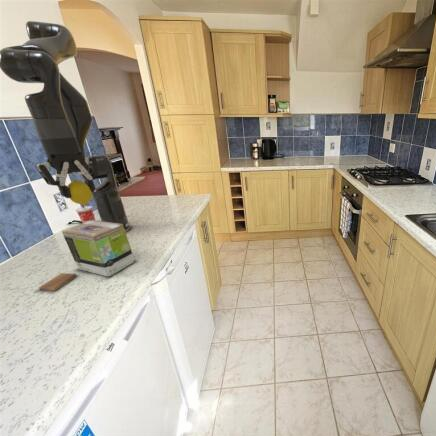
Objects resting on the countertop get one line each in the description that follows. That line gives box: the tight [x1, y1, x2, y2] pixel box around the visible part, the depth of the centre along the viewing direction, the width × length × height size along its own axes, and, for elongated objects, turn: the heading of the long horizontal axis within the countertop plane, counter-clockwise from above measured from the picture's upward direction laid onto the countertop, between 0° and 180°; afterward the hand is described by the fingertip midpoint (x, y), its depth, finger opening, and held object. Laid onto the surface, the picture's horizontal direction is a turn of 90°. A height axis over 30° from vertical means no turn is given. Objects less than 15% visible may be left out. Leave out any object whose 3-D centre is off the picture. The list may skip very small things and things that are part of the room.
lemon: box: [66, 179, 93, 206], centre depth 73 cm, size 6×6×8 cm
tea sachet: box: [38, 273, 77, 292], centre depth 75 cm, size 5×7×1 cm
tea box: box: [61, 219, 135, 278], centre depth 81 cm, size 15×10×15 cm
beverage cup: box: [75, 204, 96, 224], centre depth 112 cm, size 6×6×14 cm
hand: (80, 194), depth 74 cm, fingers closed on lemon, 5 cm apart
